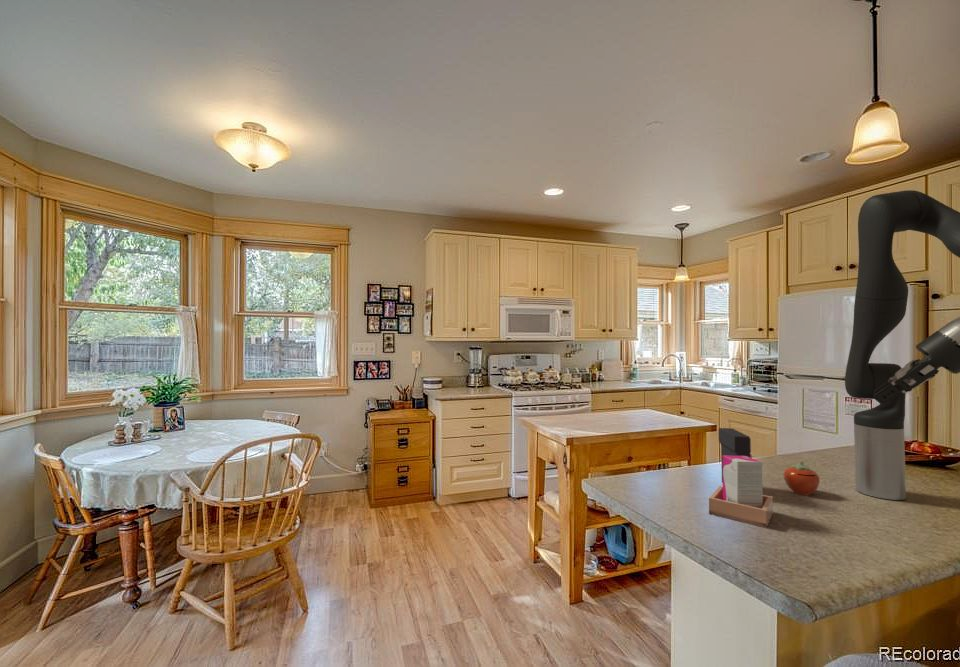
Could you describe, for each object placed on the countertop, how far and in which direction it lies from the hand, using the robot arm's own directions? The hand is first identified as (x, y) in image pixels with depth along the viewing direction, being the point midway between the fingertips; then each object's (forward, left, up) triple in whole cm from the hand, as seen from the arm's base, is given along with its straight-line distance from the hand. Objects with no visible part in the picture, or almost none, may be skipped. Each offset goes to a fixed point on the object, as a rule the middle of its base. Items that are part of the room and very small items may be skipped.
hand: (876, 398), depth 85 cm
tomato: (-17, -14, -27) cm, 35 cm away
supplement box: (+9, -23, -26) cm, 36 cm away
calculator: (-8, -27, -27) cm, 39 cm away
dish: (+9, -23, -27) cm, 36 cm away
